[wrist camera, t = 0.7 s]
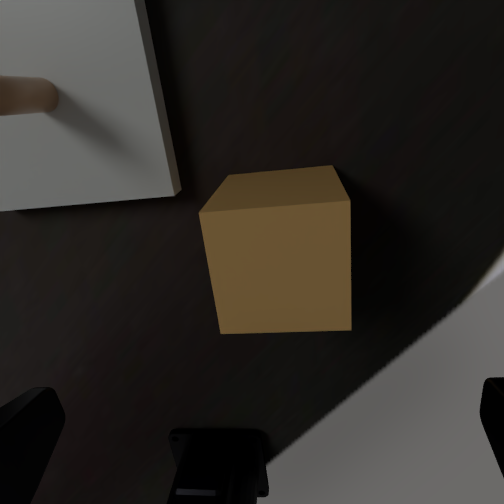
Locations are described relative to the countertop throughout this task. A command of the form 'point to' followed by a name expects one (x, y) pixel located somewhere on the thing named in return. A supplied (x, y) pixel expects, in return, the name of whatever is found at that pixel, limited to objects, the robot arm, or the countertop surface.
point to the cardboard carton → (280, 251)
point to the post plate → (81, 105)
